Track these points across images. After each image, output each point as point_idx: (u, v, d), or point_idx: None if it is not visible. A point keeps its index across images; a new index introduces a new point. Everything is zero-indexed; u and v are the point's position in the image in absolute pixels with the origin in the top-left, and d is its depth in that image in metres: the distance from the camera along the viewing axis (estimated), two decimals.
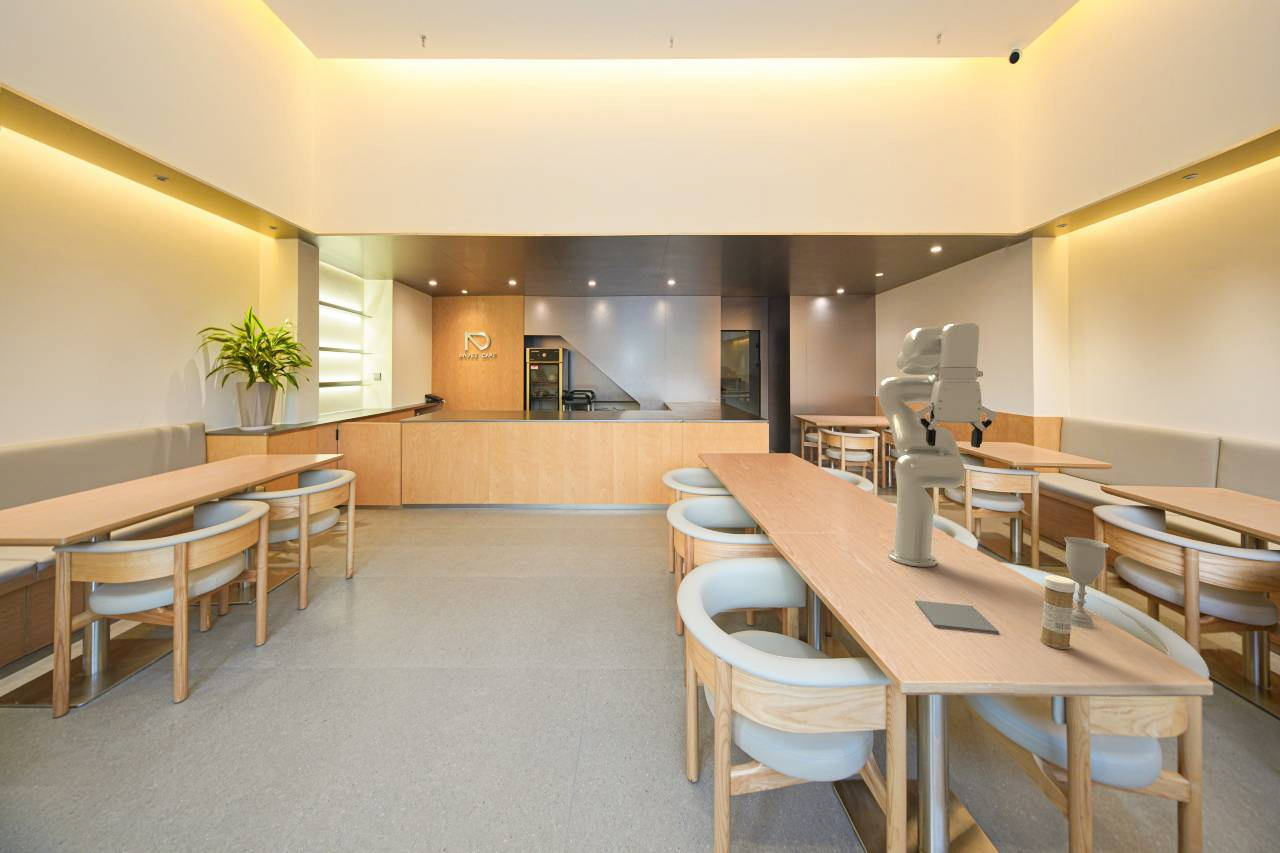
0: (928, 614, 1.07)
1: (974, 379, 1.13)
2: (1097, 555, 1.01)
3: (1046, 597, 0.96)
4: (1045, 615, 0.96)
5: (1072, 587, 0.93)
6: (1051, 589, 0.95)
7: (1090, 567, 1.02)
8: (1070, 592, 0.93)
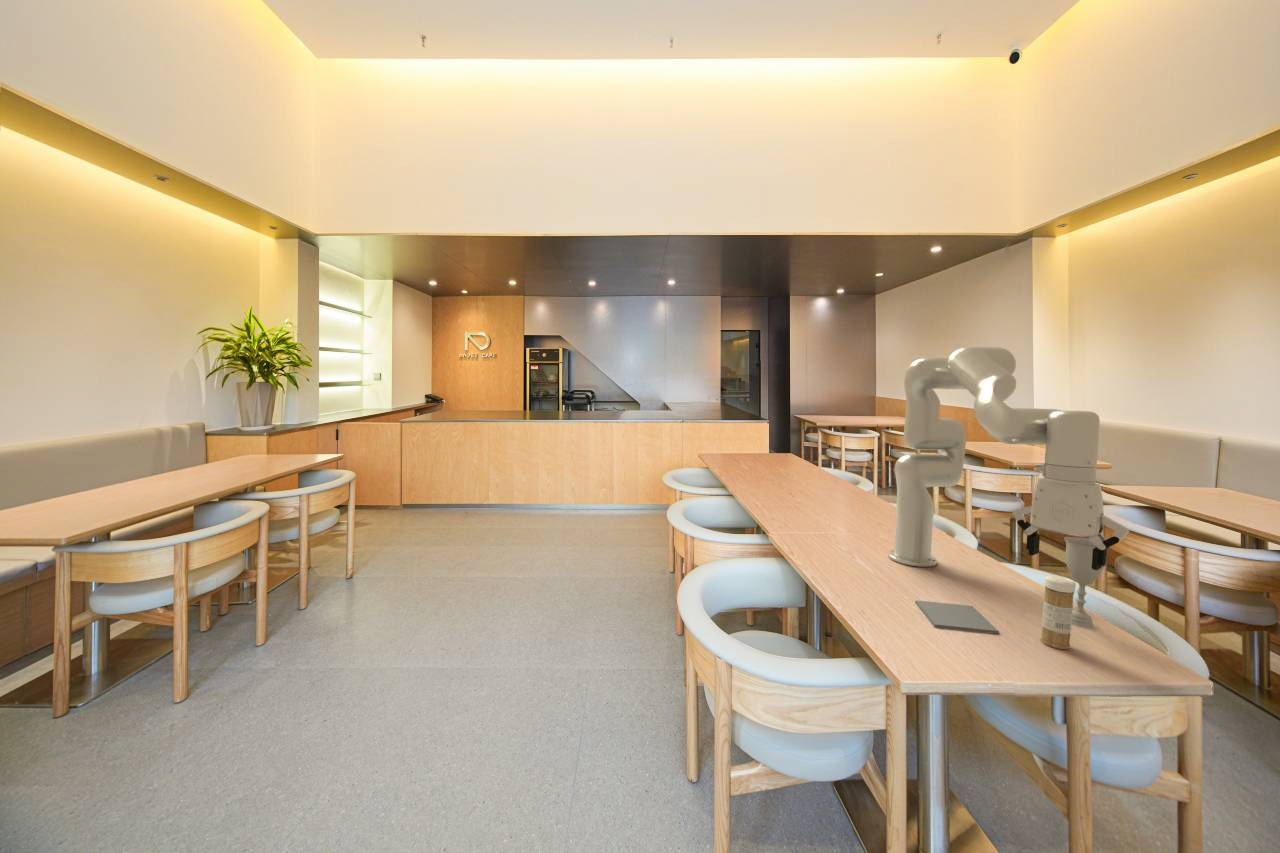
0: (928, 614, 1.07)
1: None
2: None
3: (1046, 597, 0.96)
4: (1045, 615, 0.96)
5: (1072, 587, 0.93)
6: (1051, 589, 0.95)
7: (1090, 567, 1.02)
8: (1070, 592, 0.93)
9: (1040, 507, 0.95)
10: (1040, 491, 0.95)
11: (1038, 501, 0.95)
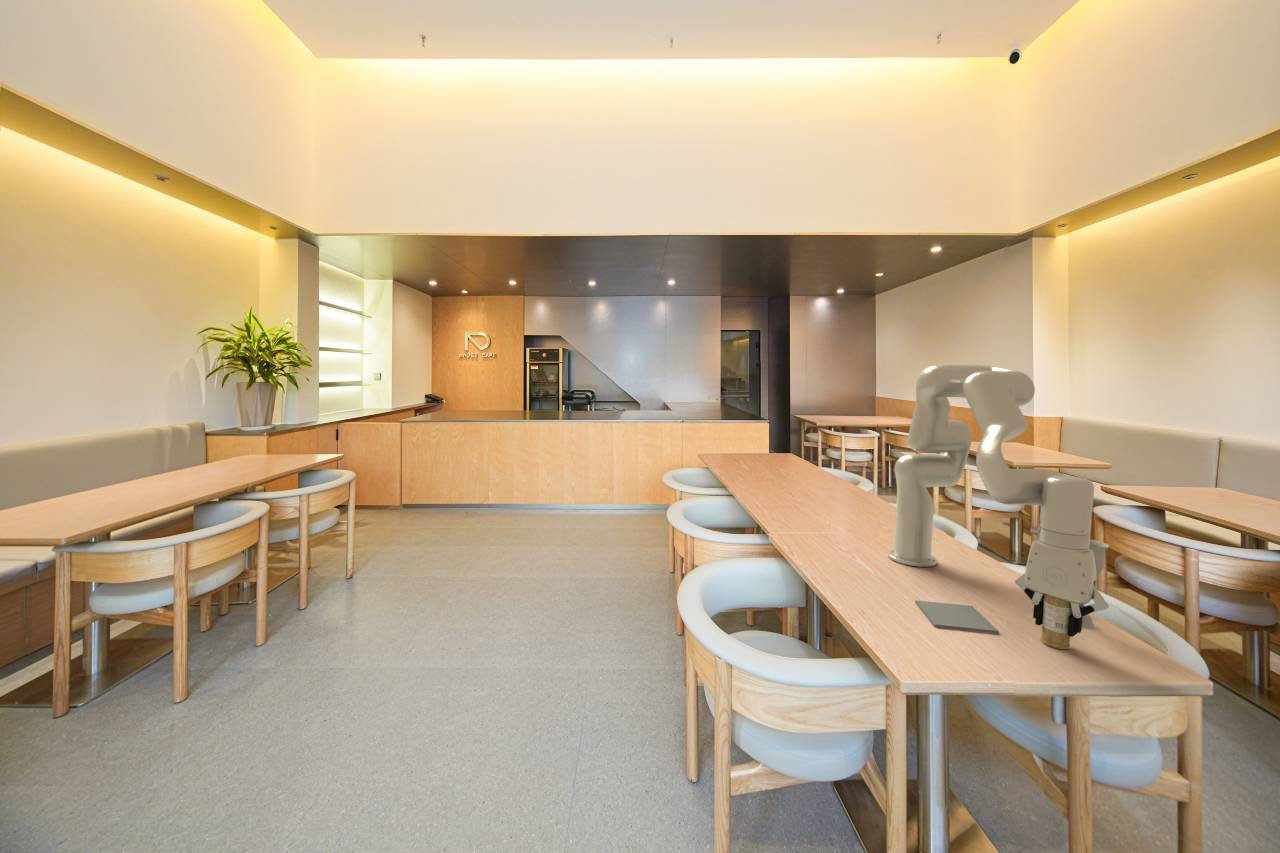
0: (928, 614, 1.07)
1: None
2: (1097, 555, 1.01)
3: (1046, 597, 0.96)
4: (1045, 615, 0.96)
5: None
6: None
7: None
8: None
9: (1034, 569, 0.96)
10: (1034, 554, 0.96)
11: (1032, 564, 0.97)
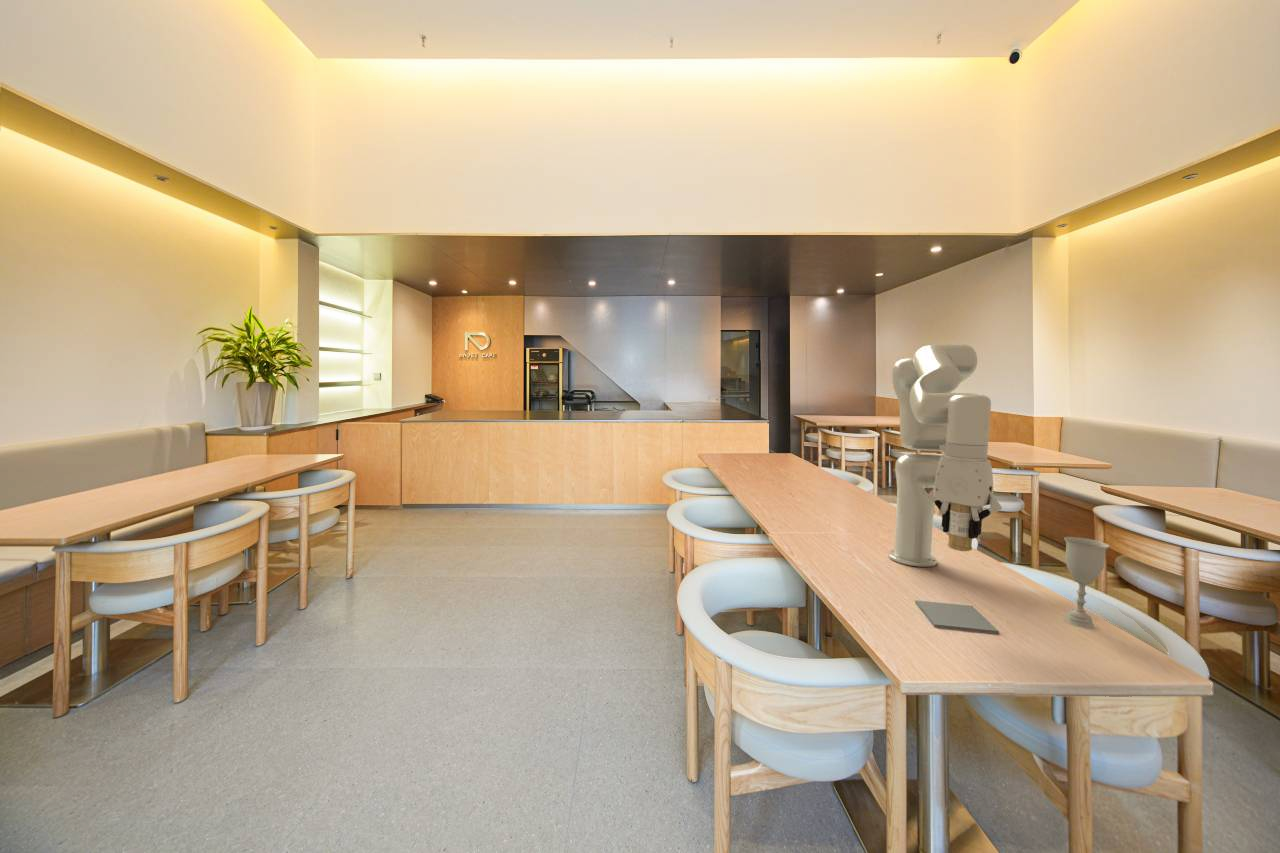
0: (928, 614, 1.07)
1: None
2: (1097, 555, 1.01)
3: (951, 505, 1.06)
4: (950, 522, 1.06)
5: None
6: None
7: (1090, 567, 1.02)
8: None
9: (941, 481, 1.06)
10: (941, 467, 1.06)
11: (940, 476, 1.06)
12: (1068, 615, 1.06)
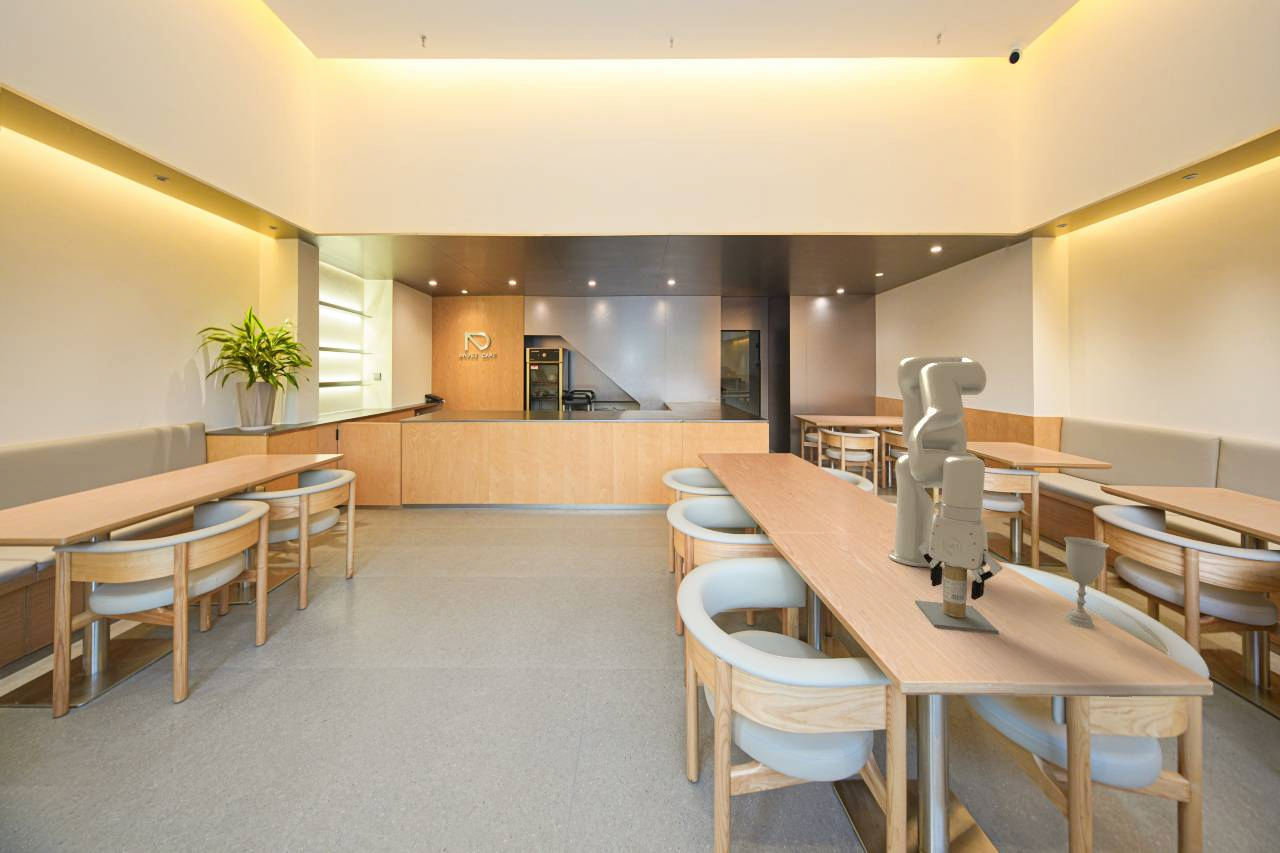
0: (928, 614, 1.07)
1: None
2: (1097, 555, 1.01)
3: (945, 572, 1.07)
4: (944, 588, 1.07)
5: None
6: (948, 565, 1.06)
7: (1090, 567, 1.02)
8: None
9: (936, 541, 1.07)
10: (936, 527, 1.07)
11: (935, 535, 1.07)
12: (1068, 615, 1.06)
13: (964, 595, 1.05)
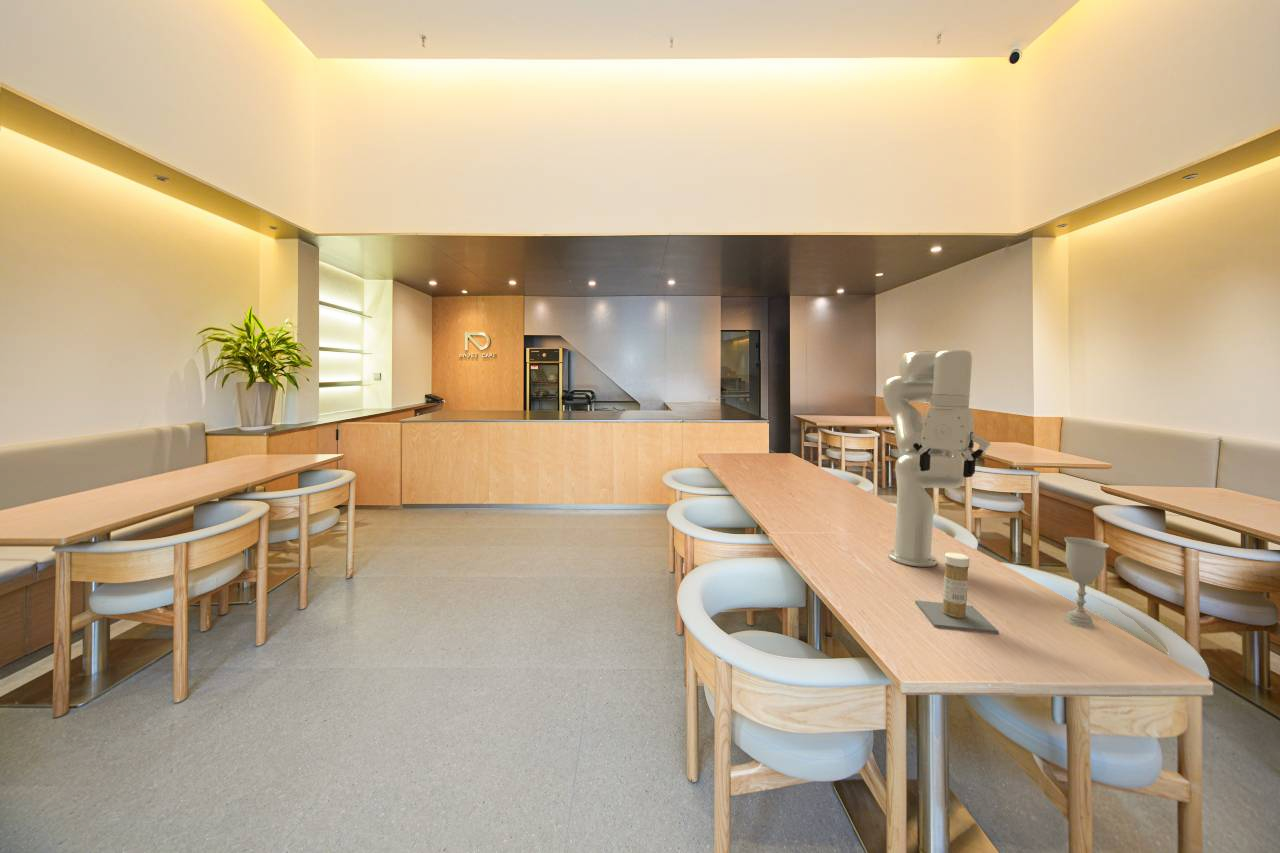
0: (928, 614, 1.07)
1: None
2: (1097, 555, 1.01)
3: (945, 572, 1.07)
4: (944, 588, 1.07)
5: (966, 562, 1.04)
6: (948, 564, 1.06)
7: (1090, 567, 1.02)
8: (964, 567, 1.04)
9: (927, 430, 1.17)
10: (928, 417, 1.17)
11: (926, 425, 1.17)
12: (1068, 615, 1.06)
13: (964, 595, 1.05)
